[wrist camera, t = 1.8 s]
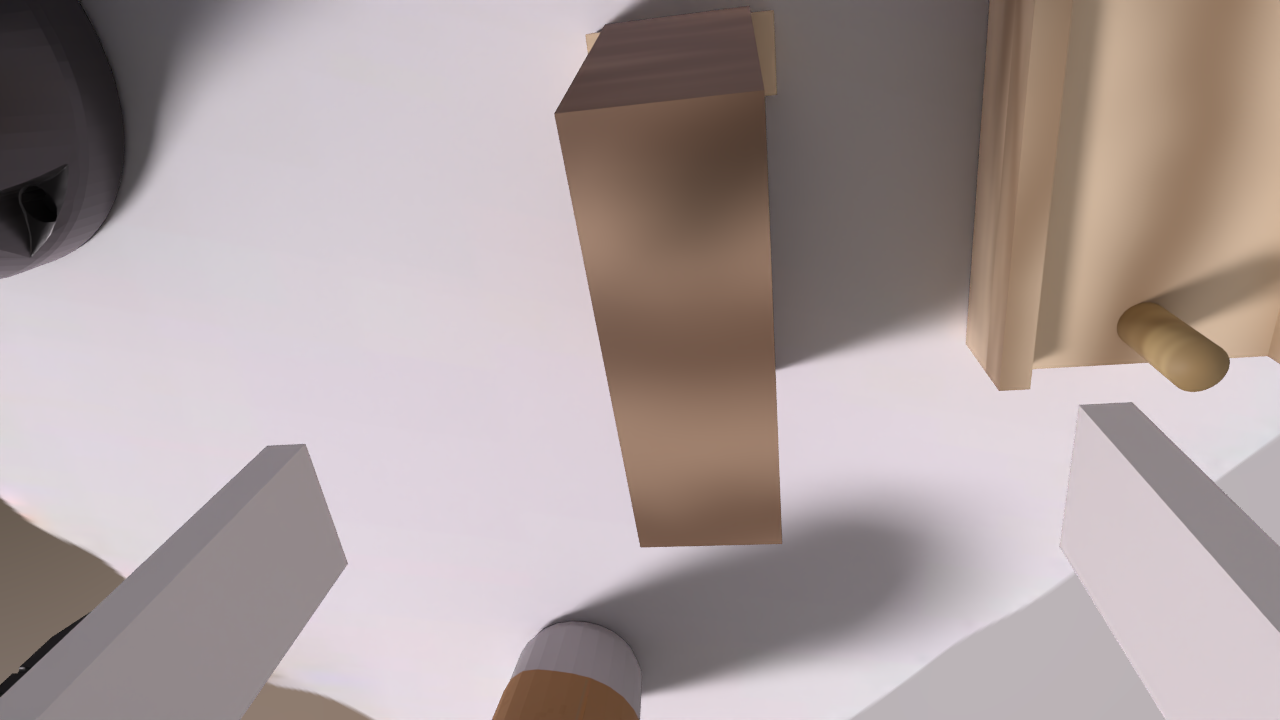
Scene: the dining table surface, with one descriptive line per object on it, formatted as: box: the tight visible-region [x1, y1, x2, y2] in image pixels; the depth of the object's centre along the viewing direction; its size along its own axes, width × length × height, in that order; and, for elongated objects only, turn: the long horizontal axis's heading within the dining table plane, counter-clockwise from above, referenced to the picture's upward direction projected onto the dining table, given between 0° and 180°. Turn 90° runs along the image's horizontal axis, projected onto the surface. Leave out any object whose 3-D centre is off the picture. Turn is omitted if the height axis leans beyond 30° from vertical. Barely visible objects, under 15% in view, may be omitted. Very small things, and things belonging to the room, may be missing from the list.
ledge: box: [966, 0, 1280, 392], centre depth 22 cm, size 10×20×6 cm, turn 7°
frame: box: [554, 6, 782, 547], centre depth 23 cm, size 14×5×9 cm, turn 7°
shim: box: [586, 10, 777, 96], centre depth 25 cm, size 6×2×2 cm, turn 97°
